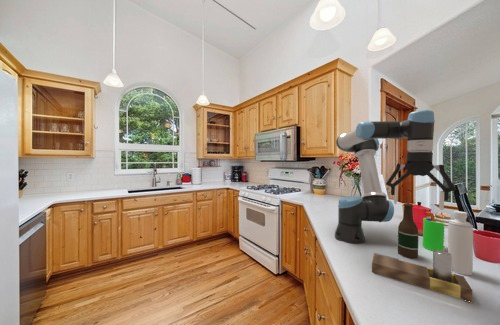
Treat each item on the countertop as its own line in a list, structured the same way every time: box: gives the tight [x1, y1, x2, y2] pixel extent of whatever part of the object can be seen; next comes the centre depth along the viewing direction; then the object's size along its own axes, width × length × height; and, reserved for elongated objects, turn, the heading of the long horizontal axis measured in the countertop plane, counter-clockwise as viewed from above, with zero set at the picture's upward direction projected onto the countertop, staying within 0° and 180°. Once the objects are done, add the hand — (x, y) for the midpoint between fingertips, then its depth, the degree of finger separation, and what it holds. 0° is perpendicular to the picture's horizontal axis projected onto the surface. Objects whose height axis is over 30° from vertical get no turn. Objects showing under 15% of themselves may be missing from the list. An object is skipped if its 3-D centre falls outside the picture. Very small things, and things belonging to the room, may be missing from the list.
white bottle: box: [447, 210, 474, 276], centre depth 77 cm, size 7×7×25 cm
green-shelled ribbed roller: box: [422, 211, 446, 252], centre depth 97 cm, size 9×8×18 cm
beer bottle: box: [397, 202, 419, 260], centre depth 89 cm, size 8×8×24 cm
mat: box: [373, 252, 400, 260], centre depth 84 cm, size 9×9×1 cm
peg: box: [432, 250, 453, 283], centre depth 66 cm, size 4×4×12 cm
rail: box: [371, 253, 473, 303], centre depth 70 cm, size 26×9×4 cm, turn 53°
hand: (417, 206), depth 75 cm, fingers open, 13 cm apart
